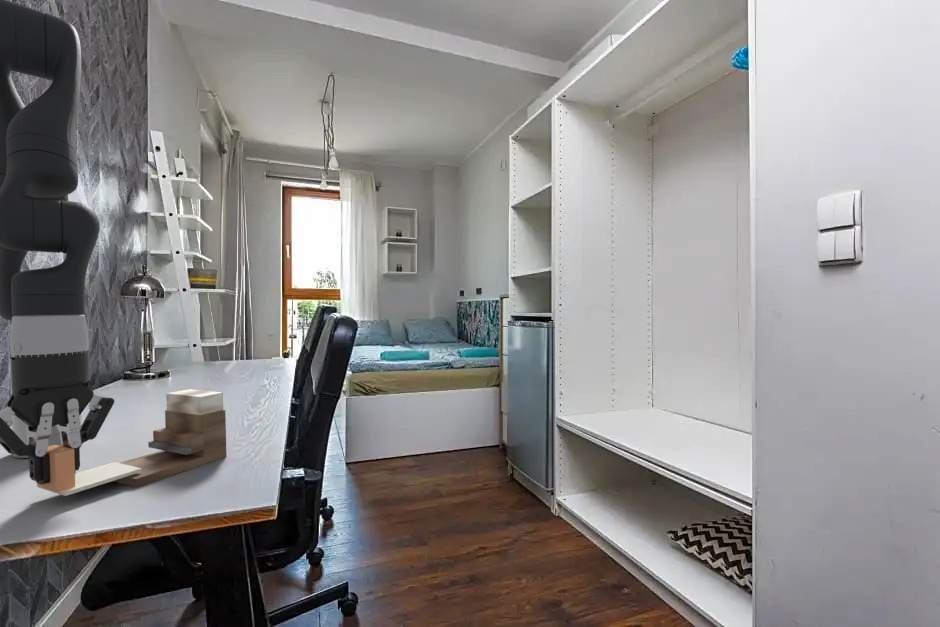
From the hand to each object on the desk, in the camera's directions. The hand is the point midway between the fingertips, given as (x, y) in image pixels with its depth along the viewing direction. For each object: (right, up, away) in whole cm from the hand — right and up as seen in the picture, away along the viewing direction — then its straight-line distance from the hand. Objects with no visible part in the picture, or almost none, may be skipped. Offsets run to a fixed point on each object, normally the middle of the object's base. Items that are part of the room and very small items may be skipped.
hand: (55, 478), depth 59 cm
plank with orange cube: (+2, -1, +3) cm, 4 cm away
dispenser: (+6, -3, +14) cm, 15 cm away
